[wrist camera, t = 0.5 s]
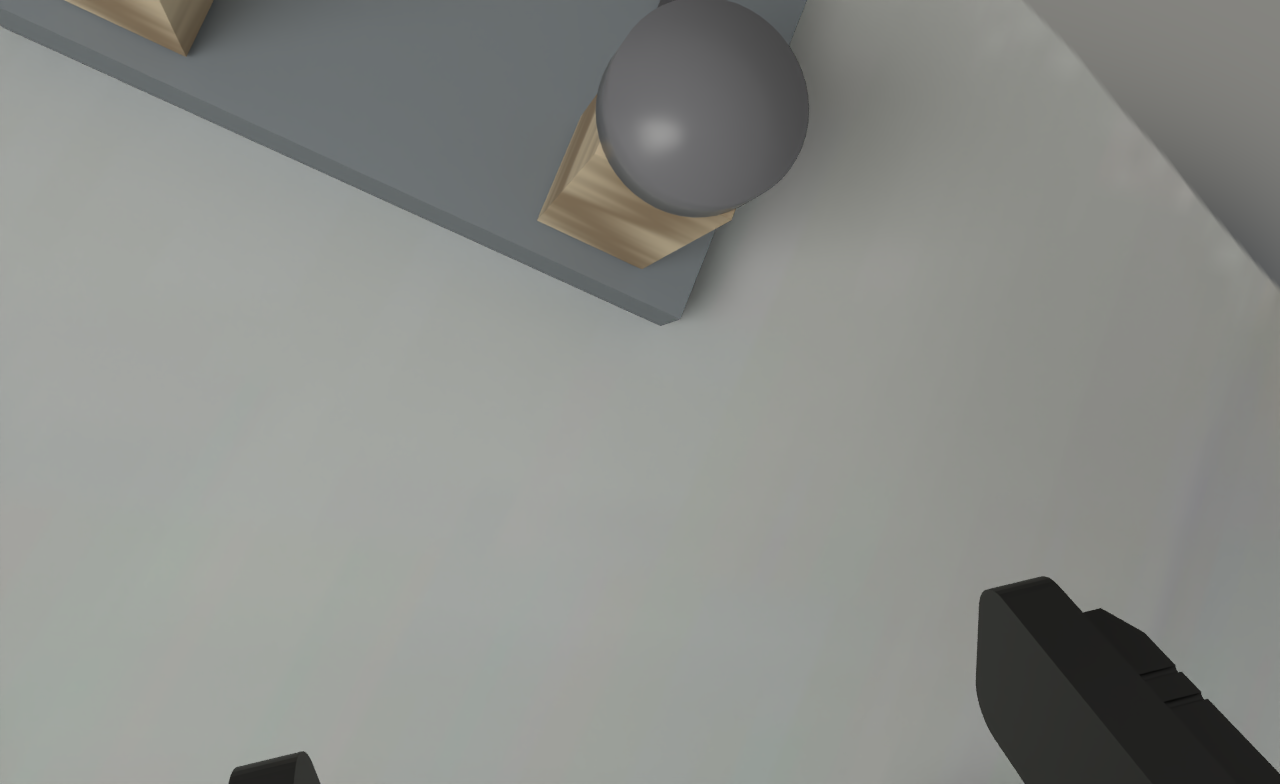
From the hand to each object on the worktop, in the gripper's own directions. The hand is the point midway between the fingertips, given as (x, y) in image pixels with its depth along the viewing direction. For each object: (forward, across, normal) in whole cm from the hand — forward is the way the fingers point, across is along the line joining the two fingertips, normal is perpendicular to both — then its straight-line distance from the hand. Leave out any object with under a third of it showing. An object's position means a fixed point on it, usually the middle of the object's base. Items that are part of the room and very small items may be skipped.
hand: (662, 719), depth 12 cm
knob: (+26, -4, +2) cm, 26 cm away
